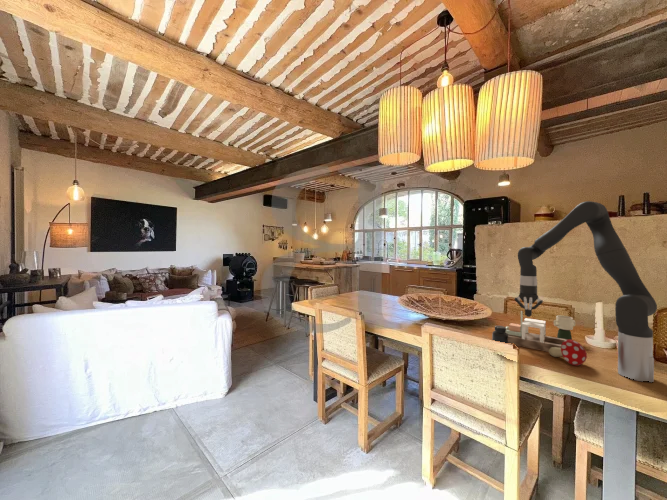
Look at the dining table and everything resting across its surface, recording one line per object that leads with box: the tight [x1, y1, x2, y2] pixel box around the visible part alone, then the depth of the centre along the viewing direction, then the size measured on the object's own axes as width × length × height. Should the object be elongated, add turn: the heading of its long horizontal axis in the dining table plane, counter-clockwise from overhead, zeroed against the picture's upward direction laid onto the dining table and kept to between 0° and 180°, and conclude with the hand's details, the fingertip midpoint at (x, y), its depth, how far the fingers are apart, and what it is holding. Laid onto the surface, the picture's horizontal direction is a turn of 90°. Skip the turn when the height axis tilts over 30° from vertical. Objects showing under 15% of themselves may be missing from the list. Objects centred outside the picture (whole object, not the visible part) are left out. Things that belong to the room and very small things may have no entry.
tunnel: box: [522, 317, 547, 343], centre depth 142 cm, size 9×14×8 cm, turn 138°
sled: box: [505, 310, 524, 336], centre depth 148 cm, size 8×8×13 cm
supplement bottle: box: [491, 324, 508, 343], centre depth 135 cm, size 7×7×12 cm
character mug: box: [553, 314, 576, 340], centre depth 148 cm, size 11×7×13 cm, turn 85°
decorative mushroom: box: [548, 339, 588, 367], centre depth 123 cm, size 11×11×15 cm
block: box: [508, 322, 521, 332], centre depth 148 cm, size 5×5×5 cm
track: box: [508, 332, 567, 353], centre depth 142 cm, size 28×14×4 cm, turn 48°
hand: (528, 316), depth 143 cm, fingers closed
